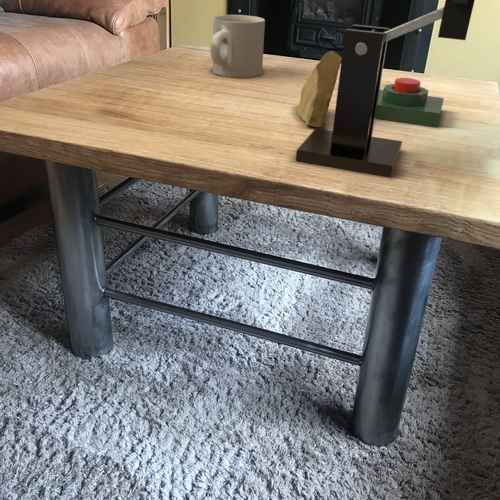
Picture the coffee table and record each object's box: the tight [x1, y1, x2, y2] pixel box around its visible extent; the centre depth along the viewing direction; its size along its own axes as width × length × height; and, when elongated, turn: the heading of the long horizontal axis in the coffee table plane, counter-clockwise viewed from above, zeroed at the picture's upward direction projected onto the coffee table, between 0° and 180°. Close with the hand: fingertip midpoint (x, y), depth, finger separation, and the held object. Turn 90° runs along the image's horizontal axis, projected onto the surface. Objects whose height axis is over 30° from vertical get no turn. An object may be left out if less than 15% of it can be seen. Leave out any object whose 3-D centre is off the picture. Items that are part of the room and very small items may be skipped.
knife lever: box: [372, 6, 444, 43], centre depth 64 cm, size 13×5×2 cm, turn 70°
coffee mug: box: [209, 14, 266, 79], centre depth 109 cm, size 13×10×10 cm
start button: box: [393, 77, 421, 93], centre depth 90 cm, size 4×4×2 cm
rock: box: [295, 50, 342, 129], centre depth 86 cm, size 11×9×10 cm
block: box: [375, 83, 445, 128], centre depth 91 cm, size 12×10×4 cm
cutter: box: [295, 24, 403, 178], centre depth 70 cm, size 12×10×16 cm
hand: (454, 29), depth 63 cm, fingers open, 13 cm apart
